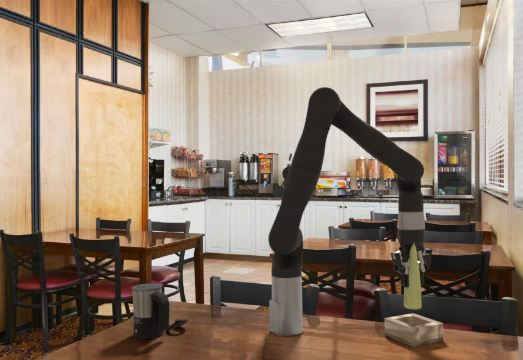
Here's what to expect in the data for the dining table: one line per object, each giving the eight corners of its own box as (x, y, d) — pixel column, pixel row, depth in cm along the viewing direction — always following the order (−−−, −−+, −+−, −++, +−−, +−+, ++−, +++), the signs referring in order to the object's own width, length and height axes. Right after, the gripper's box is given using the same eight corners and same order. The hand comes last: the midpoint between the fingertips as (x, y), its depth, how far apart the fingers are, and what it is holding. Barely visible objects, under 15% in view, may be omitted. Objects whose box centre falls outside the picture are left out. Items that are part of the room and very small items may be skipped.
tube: (427, 308, 143) (425, 240, 143) (415, 311, 140) (414, 242, 140) (411, 304, 148) (410, 238, 148) (399, 307, 145) (398, 240, 145)
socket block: (413, 347, 136) (413, 329, 136) (384, 335, 147) (384, 318, 147) (443, 340, 141) (443, 323, 141) (413, 329, 152) (413, 313, 152)
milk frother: (125, 337, 149) (125, 288, 149) (157, 323, 164) (156, 278, 164) (165, 343, 144) (164, 291, 144) (194, 327, 158) (193, 281, 158)
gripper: (420, 224, 150) (421, 281, 150) (383, 227, 144) (384, 286, 144) (439, 226, 144) (440, 285, 144) (401, 229, 137) (402, 291, 137)
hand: (412, 285), depth 144 cm, fingers closed on tube, 4 cm apart
